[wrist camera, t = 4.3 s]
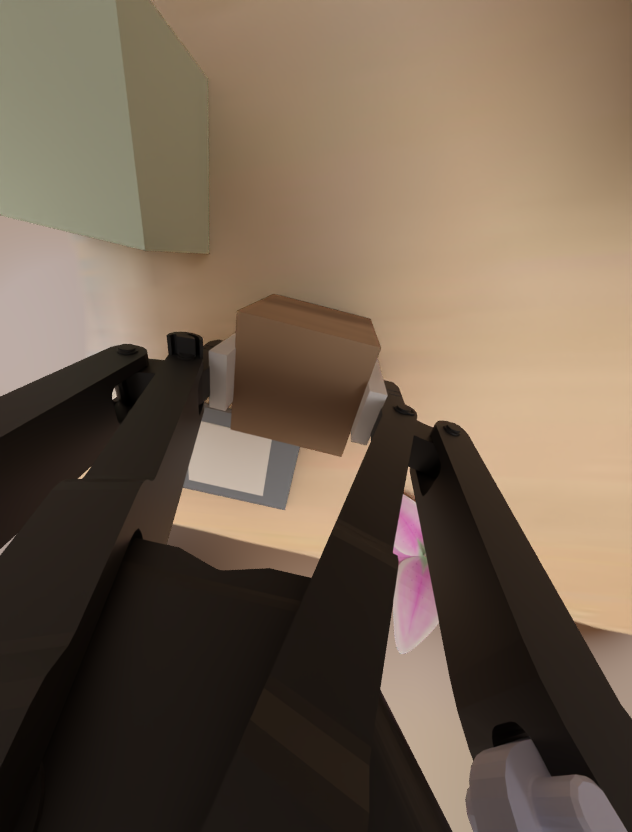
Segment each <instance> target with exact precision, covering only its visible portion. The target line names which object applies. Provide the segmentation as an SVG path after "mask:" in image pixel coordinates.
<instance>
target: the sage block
mask: <svg viewBox="0 0 632 832" xmlns="http://www.w3.org/2000/svg"><path fill="white" fill-rule="evenodd" d="M0 216H4V217H8V218H13V219H17V220H21V221H25V222H29V223H33V224H37V225H42V226H46V227H50V228H54V229H58V230H62V231H66V232H70V233H74V234H78V235H83V236H87V237H91V238H95V239H99V240H103V241H107V242H111V243H116V244H120V245H124V246H128V247H132V248H136V249H140V250H144V251H160V252H179V253H199V254H209V139H208V78H207V77H206V75H205V74H204V72H203V71H202V70H201V68H200V67H199V66H198V64H197V63H196V62H195V60H194V59H193V58H192V56H191V55H190V54H189V52H188V51H187V50H186V48H185V47H184V45H183V44H182V43H181V41H180V40H179V39H178V37H177V36H176V35H175V33H174V32H173V31H172V29H171V28H170V27H169V25H168V24H167V22H166V21H165V20H164V18H163V17H162V16H161V14H160V13H159V12H158V10H157V9H156V8H155V6H154V5H153V4H152V2H151V1H150V0H0Z"/></svg>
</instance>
